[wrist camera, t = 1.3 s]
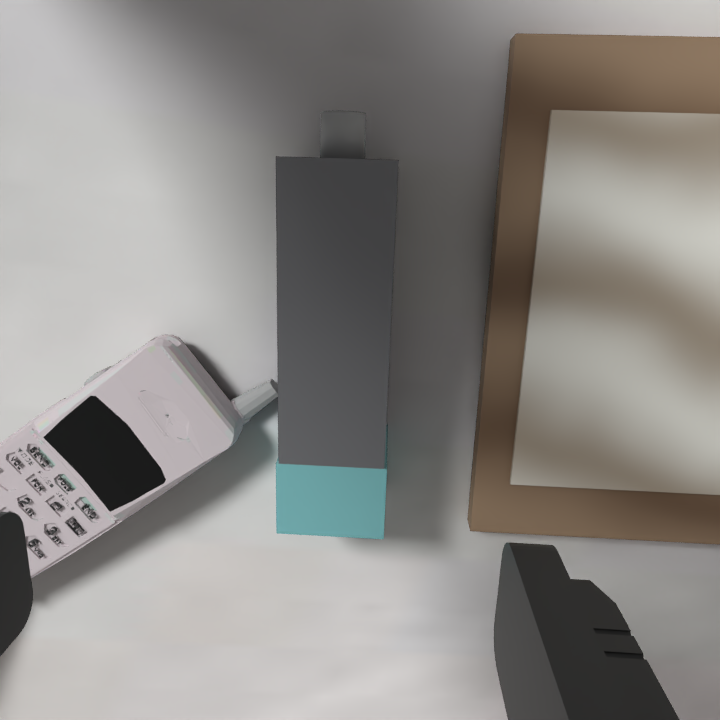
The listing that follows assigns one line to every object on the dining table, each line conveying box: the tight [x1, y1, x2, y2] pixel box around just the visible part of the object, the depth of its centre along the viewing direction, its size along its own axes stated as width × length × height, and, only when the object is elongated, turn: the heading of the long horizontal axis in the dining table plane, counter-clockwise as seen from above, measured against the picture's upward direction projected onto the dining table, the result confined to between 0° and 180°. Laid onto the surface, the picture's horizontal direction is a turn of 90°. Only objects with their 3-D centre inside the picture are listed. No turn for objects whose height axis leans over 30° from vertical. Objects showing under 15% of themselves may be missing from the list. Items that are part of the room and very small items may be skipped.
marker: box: [276, 111, 399, 539], centre depth 23 cm, size 16×4×4 cm, turn 178°
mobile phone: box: [0, 334, 278, 578], centre depth 26 cm, size 6×6×25 cm
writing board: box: [468, 34, 720, 544], centre depth 24 cm, size 20×18×1 cm
